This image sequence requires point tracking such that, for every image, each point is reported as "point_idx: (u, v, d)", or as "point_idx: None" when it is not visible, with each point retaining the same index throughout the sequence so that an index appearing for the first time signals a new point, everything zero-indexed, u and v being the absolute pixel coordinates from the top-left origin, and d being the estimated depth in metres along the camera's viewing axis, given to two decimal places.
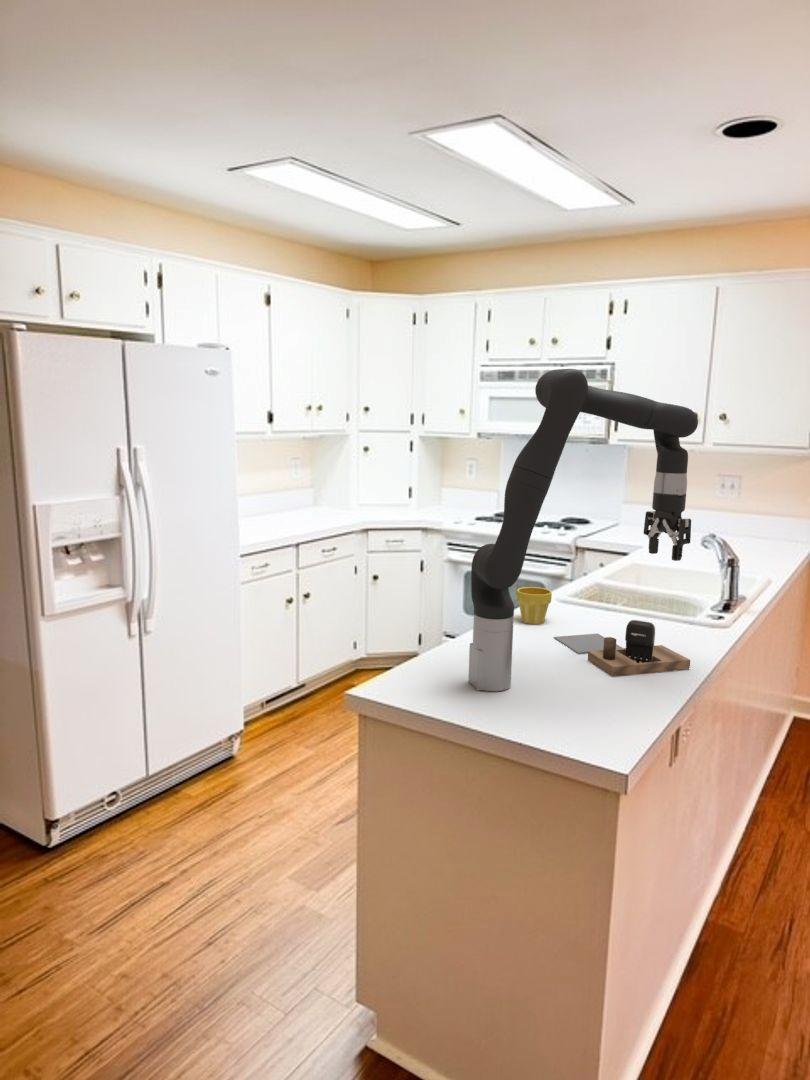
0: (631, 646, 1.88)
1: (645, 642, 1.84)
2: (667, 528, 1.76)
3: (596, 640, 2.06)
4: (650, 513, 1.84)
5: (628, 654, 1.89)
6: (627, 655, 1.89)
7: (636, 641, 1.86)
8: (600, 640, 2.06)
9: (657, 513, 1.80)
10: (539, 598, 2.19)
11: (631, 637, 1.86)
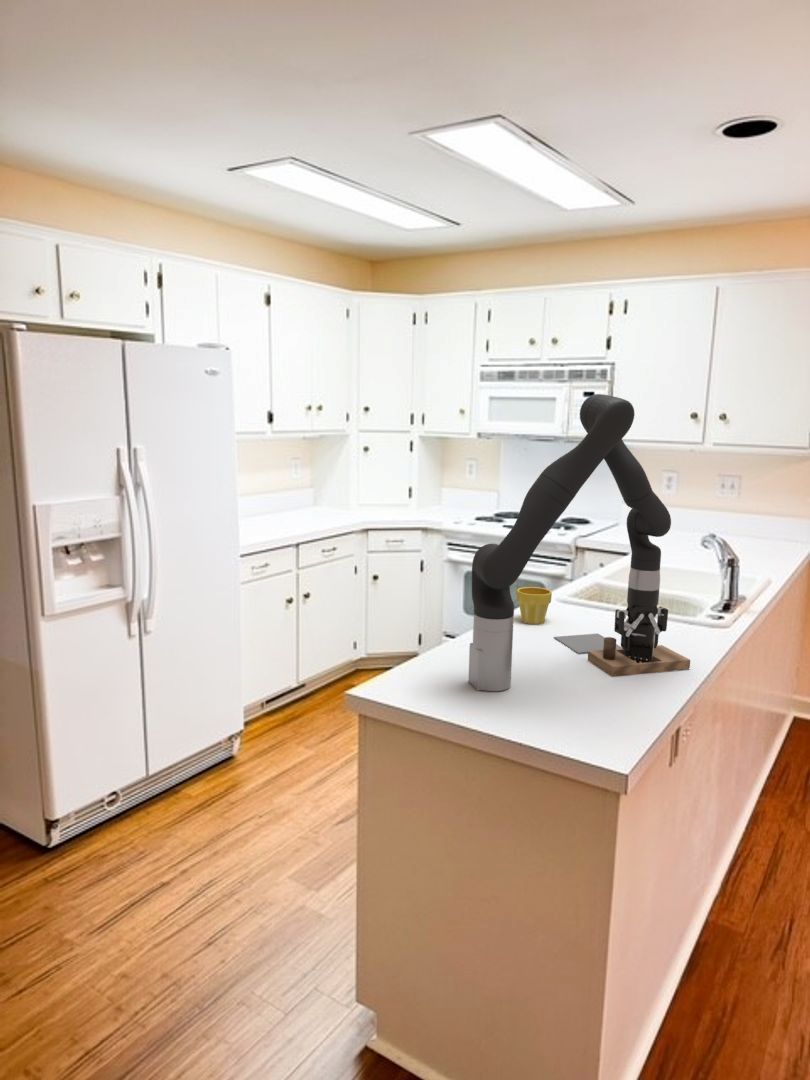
0: (631, 646, 1.88)
1: (645, 642, 1.84)
2: (652, 620, 1.85)
3: (596, 640, 2.06)
4: None
5: (628, 654, 1.89)
6: (627, 655, 1.89)
7: (636, 641, 1.86)
8: (600, 640, 2.06)
9: (635, 609, 1.84)
10: (539, 598, 2.19)
11: (631, 637, 1.86)
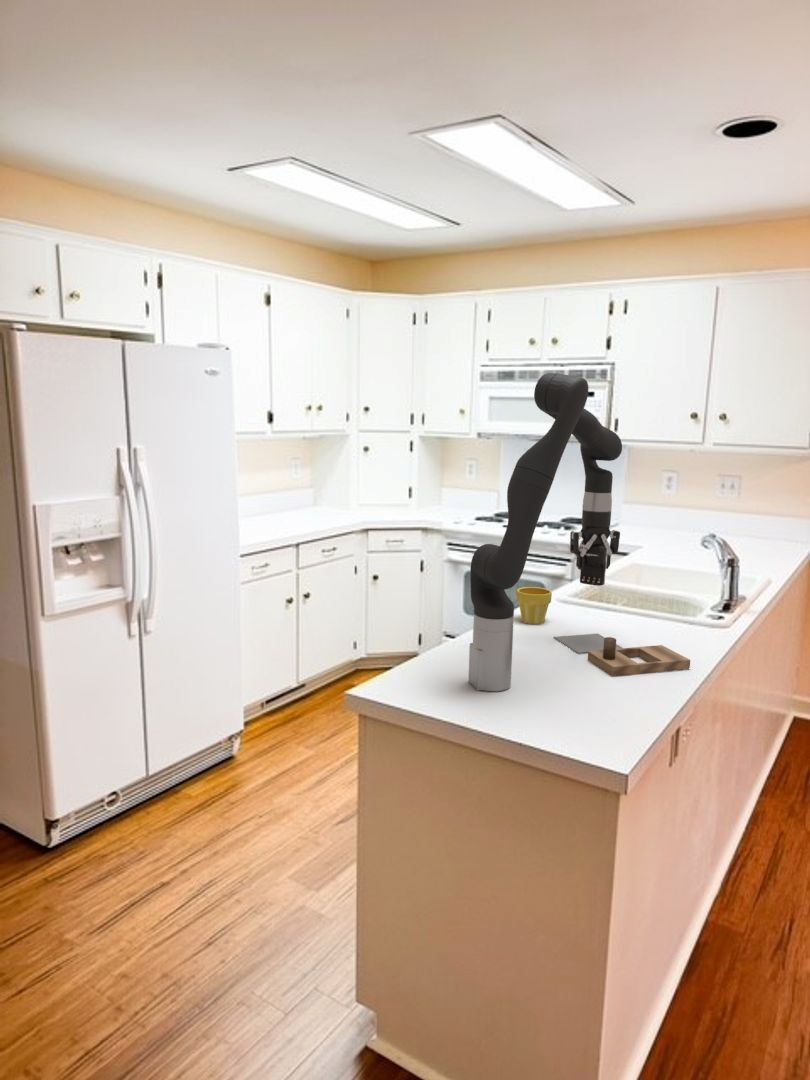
0: (585, 567, 2.01)
1: (597, 561, 1.97)
2: (605, 541, 1.98)
3: (596, 640, 2.06)
4: None
5: (582, 575, 2.02)
6: (582, 575, 2.02)
7: (589, 561, 1.98)
8: (600, 640, 2.06)
9: (589, 530, 1.97)
10: (539, 598, 2.19)
11: (585, 557, 1.99)
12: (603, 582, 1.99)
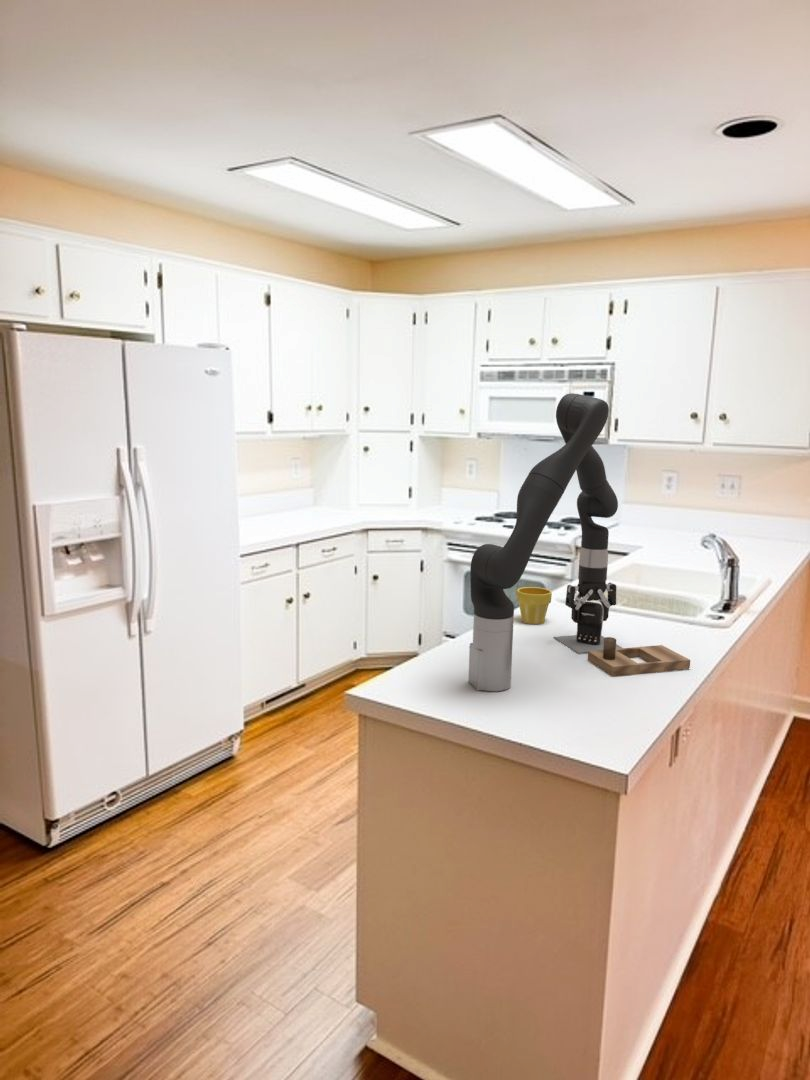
0: (582, 625, 2.04)
1: (593, 621, 2.00)
2: (602, 595, 2.01)
3: None
4: None
5: (579, 633, 2.05)
6: (578, 634, 2.05)
7: (586, 620, 2.02)
8: None
9: (585, 585, 1.99)
10: (539, 598, 2.19)
11: (581, 616, 2.02)
12: (599, 641, 2.02)
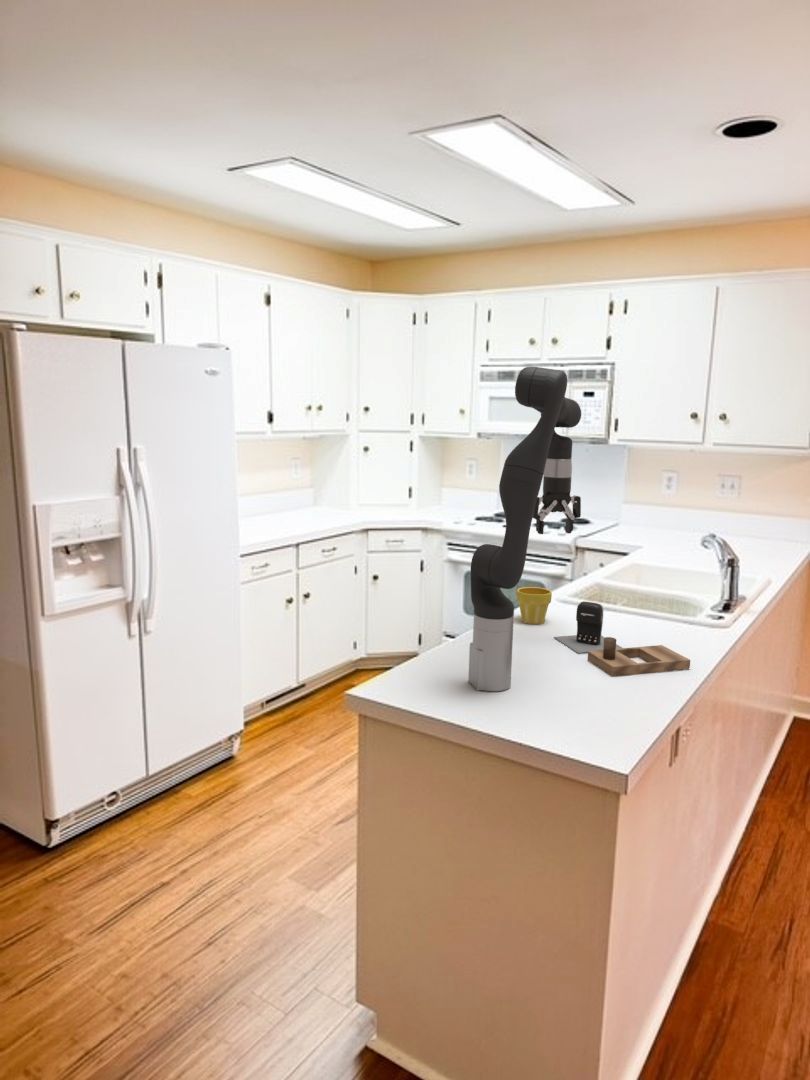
0: (582, 625, 2.04)
1: (593, 621, 2.00)
2: (566, 507, 2.02)
3: None
4: None
5: (579, 633, 2.05)
6: (578, 634, 2.05)
7: (585, 620, 2.01)
8: None
9: (550, 496, 2.01)
10: (539, 598, 2.19)
11: (581, 617, 2.02)
12: (599, 641, 2.02)
